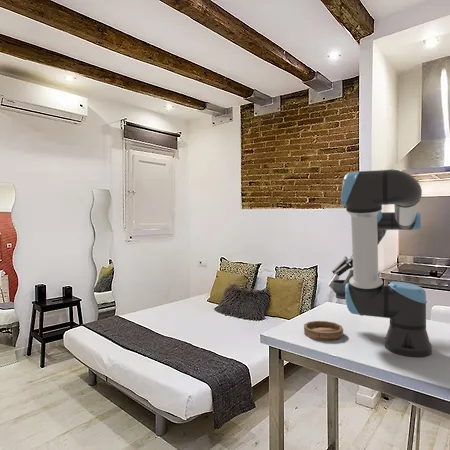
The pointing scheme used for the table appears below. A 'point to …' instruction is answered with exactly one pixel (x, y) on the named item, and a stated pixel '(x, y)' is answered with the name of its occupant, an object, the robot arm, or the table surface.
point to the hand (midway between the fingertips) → (339, 289)
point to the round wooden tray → (323, 330)
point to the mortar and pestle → (341, 286)
